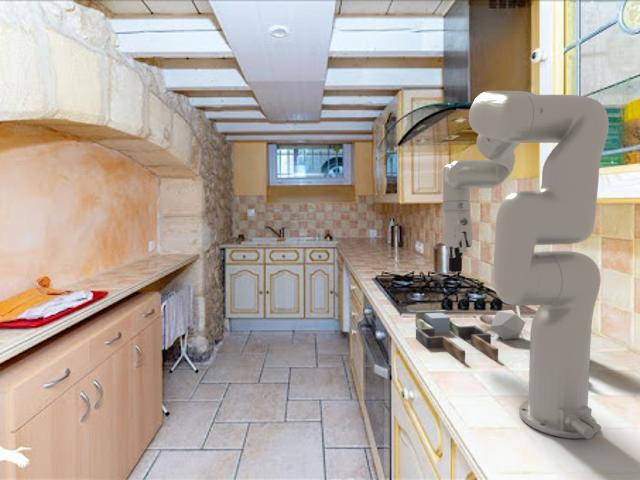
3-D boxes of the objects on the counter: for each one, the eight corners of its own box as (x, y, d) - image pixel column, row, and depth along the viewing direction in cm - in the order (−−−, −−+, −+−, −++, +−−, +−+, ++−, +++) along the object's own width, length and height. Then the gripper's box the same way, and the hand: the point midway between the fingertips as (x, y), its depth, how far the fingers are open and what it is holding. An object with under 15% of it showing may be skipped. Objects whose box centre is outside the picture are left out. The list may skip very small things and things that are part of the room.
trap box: (514, 359, 108) (514, 340, 108) (444, 363, 106) (444, 344, 106) (456, 324, 141) (457, 309, 141) (402, 326, 139) (402, 311, 138)
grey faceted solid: (511, 334, 132) (491, 308, 133) (535, 326, 125) (514, 299, 126) (500, 349, 126) (480, 322, 127) (525, 342, 119) (503, 314, 120)
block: (449, 333, 132) (449, 317, 131) (431, 333, 131) (431, 318, 131) (441, 327, 138) (442, 312, 137) (424, 328, 137) (424, 313, 137)
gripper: (481, 207, 112) (480, 274, 114) (456, 207, 127) (455, 267, 129) (455, 207, 111) (454, 275, 113) (433, 207, 126) (432, 268, 128)
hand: (455, 271), depth 121 cm, fingers closed
